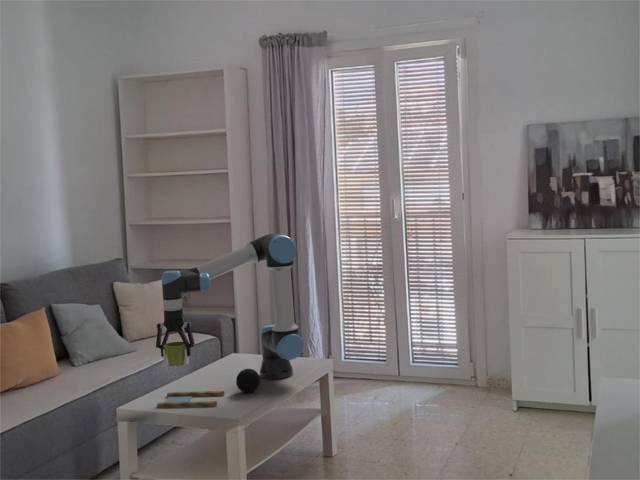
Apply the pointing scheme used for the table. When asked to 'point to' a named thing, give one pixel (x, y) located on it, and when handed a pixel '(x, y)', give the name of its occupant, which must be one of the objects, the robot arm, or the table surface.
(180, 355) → the plant pot
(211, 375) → the table surface
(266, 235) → the robot arm
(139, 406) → the table surface
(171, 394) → the pair of walnut rails
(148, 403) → the table surface
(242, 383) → the speaker
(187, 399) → the marked pad
